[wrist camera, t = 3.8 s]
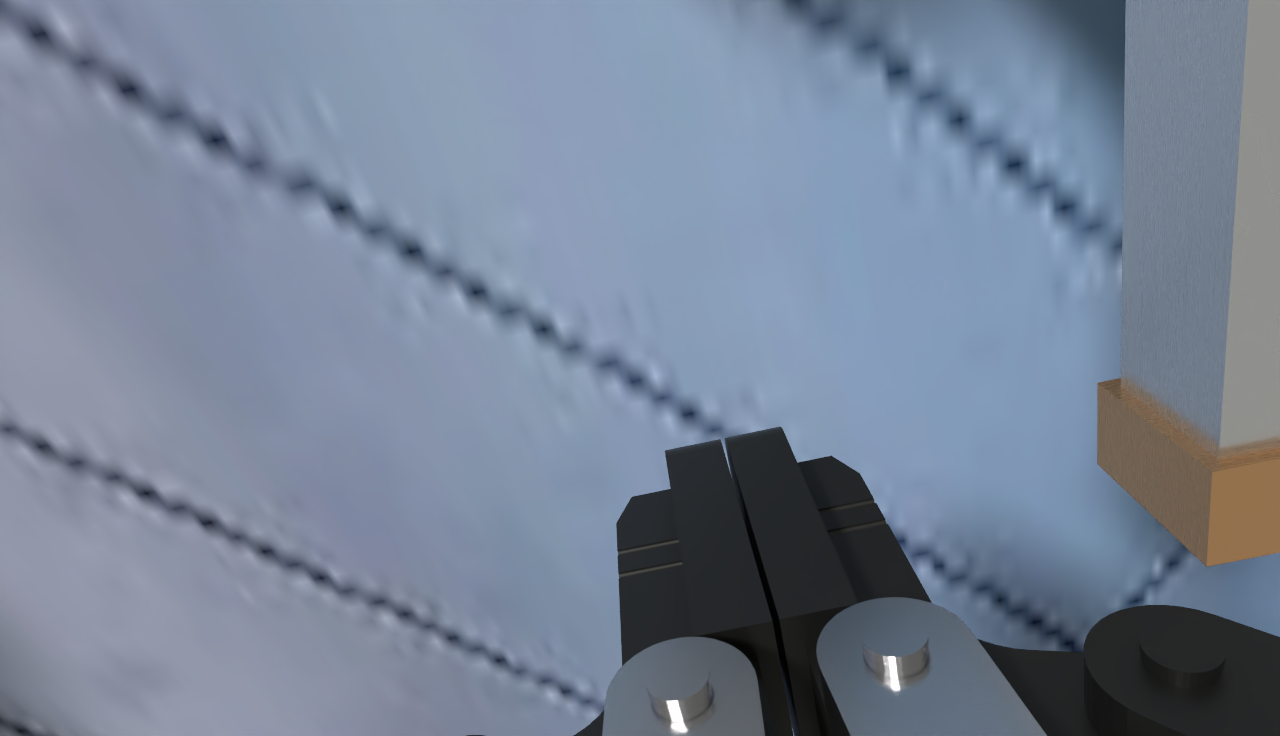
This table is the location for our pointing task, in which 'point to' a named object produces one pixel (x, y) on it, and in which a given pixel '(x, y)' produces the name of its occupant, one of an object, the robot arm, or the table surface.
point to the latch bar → (1200, 276)
